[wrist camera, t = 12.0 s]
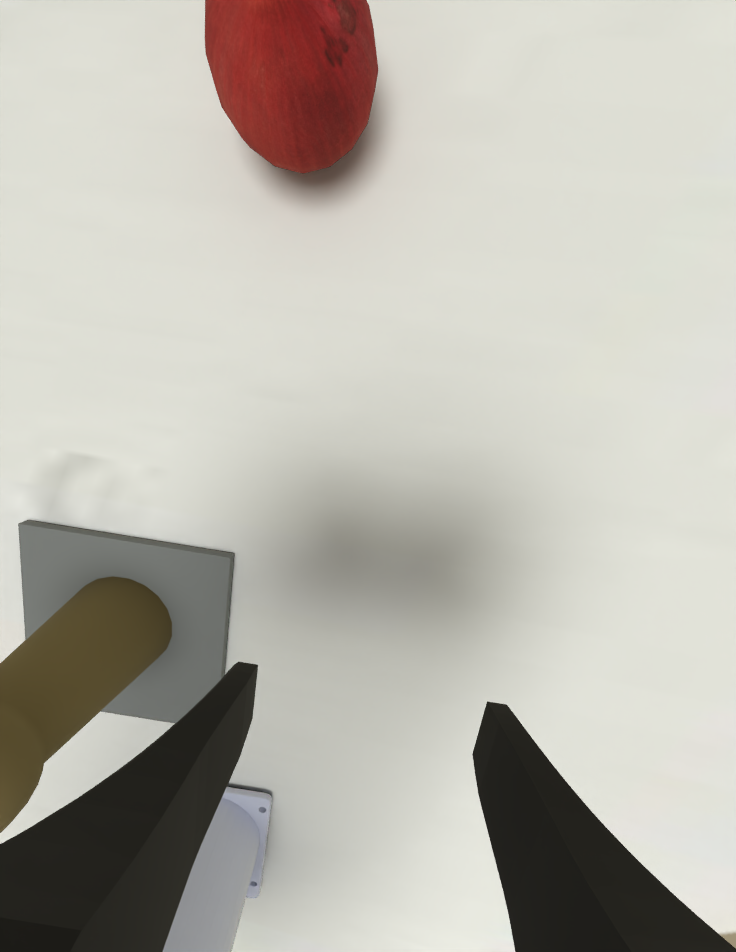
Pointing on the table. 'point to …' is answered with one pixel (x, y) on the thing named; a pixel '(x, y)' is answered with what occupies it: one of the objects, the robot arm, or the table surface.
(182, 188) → the table surface
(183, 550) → the placemat
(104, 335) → the table surface
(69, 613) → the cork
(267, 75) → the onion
